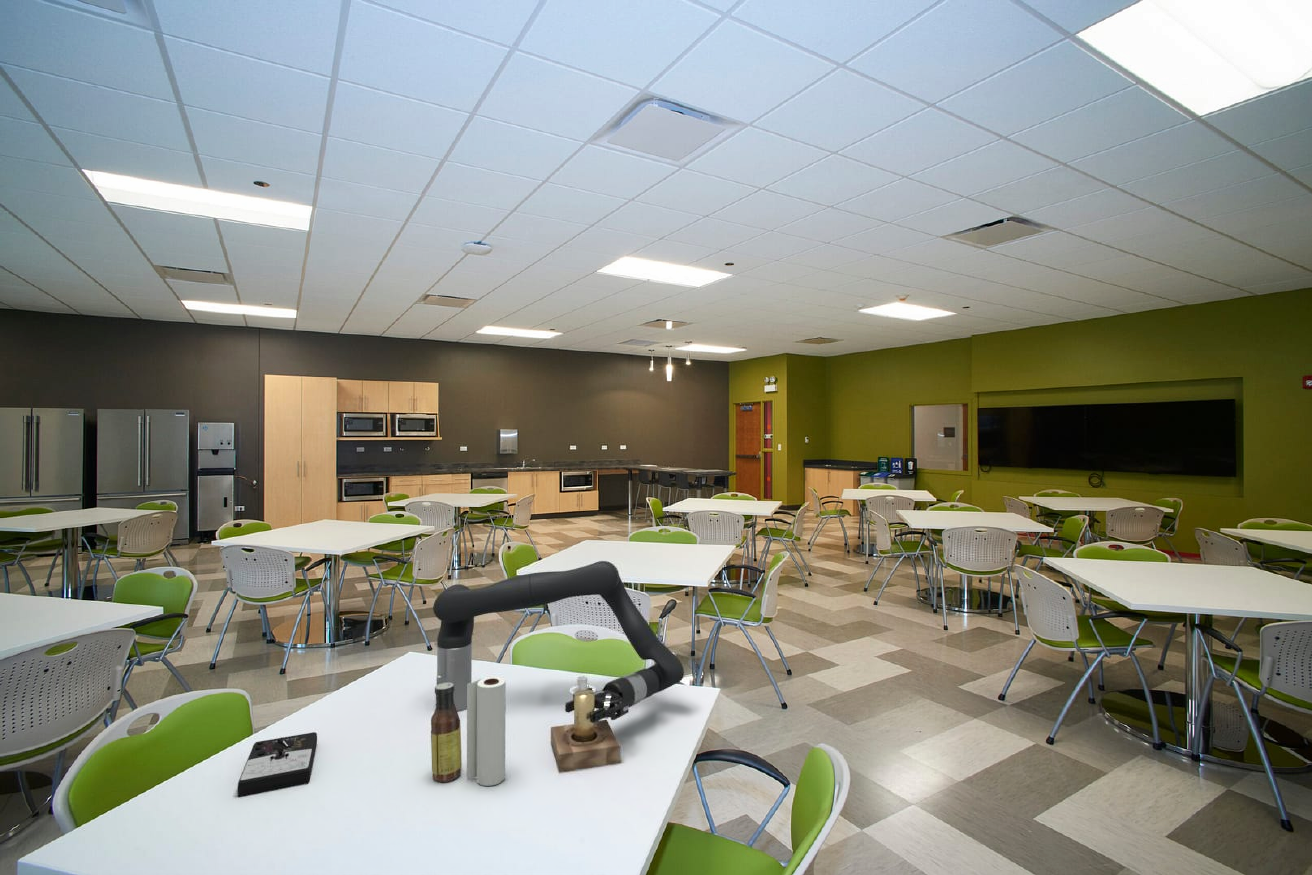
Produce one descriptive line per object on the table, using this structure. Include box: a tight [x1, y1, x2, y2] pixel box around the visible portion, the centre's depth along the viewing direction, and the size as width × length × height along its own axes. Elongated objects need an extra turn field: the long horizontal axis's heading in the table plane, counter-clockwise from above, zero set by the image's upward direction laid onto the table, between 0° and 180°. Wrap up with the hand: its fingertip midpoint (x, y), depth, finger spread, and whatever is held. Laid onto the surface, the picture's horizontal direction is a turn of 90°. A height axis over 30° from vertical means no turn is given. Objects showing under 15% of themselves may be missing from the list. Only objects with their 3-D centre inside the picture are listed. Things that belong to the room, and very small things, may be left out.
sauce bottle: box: [430, 683, 463, 783], centre depth 136 cm, size 6×6×20 cm
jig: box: [550, 719, 621, 774], centre depth 146 cm, size 14×14×4 cm
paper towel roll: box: [466, 676, 507, 787], centre depth 135 cm, size 7×6×21 cm
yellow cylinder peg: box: [573, 690, 595, 743], centre depth 146 cm, size 5×5×14 cm
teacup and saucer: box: [568, 675, 597, 695], centre depth 183 cm, size 9×8×4 cm
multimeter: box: [237, 731, 318, 798], centre depth 139 cm, size 13×19×5 cm
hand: (578, 713), depth 144 cm, fingers open, 8 cm apart
